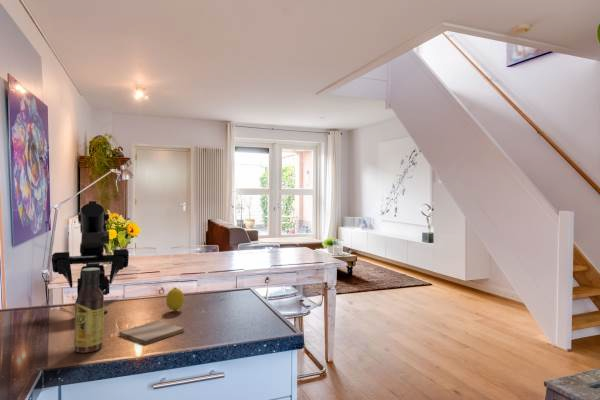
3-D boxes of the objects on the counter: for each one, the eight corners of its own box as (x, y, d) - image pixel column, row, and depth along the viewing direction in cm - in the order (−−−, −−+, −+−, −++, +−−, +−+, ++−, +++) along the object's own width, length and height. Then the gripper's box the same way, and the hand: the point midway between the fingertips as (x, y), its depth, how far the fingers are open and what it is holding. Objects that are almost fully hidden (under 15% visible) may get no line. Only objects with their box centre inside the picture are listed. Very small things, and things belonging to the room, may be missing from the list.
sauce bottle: (70, 349, 92) (71, 268, 92) (98, 342, 96) (98, 265, 97) (79, 356, 87) (80, 271, 88) (107, 349, 92) (108, 268, 92)
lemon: (178, 314, 121) (178, 289, 122) (163, 313, 123) (163, 288, 123) (186, 309, 127) (187, 286, 127) (172, 308, 128) (172, 285, 128)
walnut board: (119, 335, 102) (119, 331, 102) (158, 323, 112) (158, 320, 112) (145, 344, 95) (145, 340, 95) (184, 331, 105) (184, 328, 105)
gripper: (52, 222, 101) (47, 269, 91) (128, 221, 110) (130, 263, 100) (55, 249, 108) (50, 295, 98) (126, 246, 117) (128, 288, 106)
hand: (91, 284), depth 100 cm, fingers open, 9 cm apart
